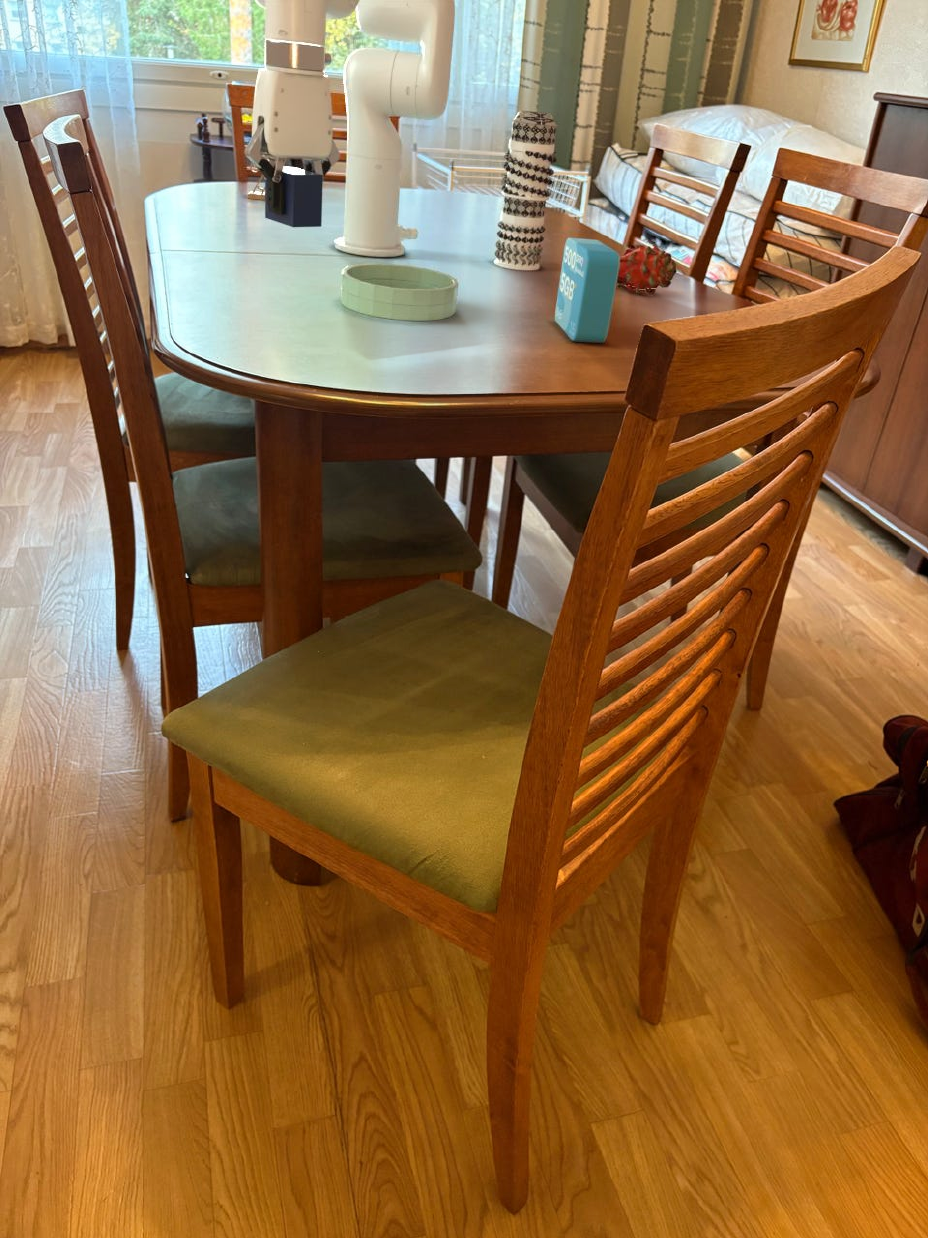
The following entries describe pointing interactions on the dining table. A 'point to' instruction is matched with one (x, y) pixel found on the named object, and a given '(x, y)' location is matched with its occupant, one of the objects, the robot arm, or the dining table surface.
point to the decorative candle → (525, 190)
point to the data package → (586, 289)
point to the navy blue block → (299, 199)
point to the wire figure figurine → (257, 194)
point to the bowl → (399, 292)
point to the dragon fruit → (645, 269)
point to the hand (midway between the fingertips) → (293, 211)
